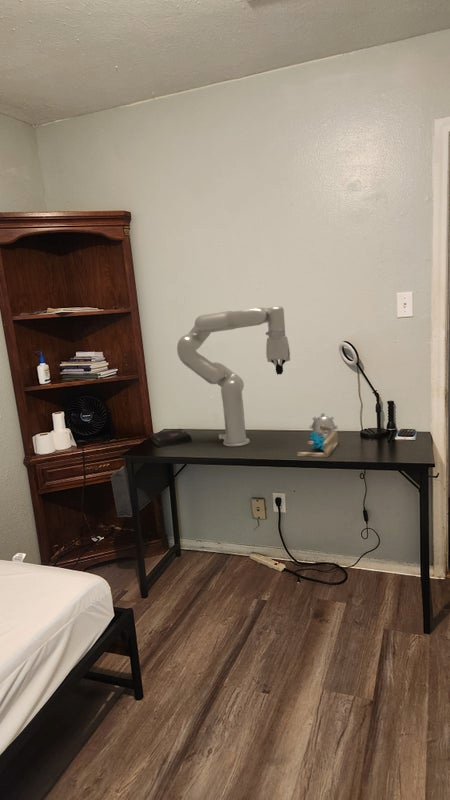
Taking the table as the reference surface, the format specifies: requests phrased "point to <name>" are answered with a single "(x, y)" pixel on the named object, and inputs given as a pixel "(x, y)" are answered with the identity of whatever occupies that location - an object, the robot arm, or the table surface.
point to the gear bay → (327, 446)
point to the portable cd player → (170, 438)
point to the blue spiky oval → (317, 440)
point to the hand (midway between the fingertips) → (279, 373)
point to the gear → (323, 426)
